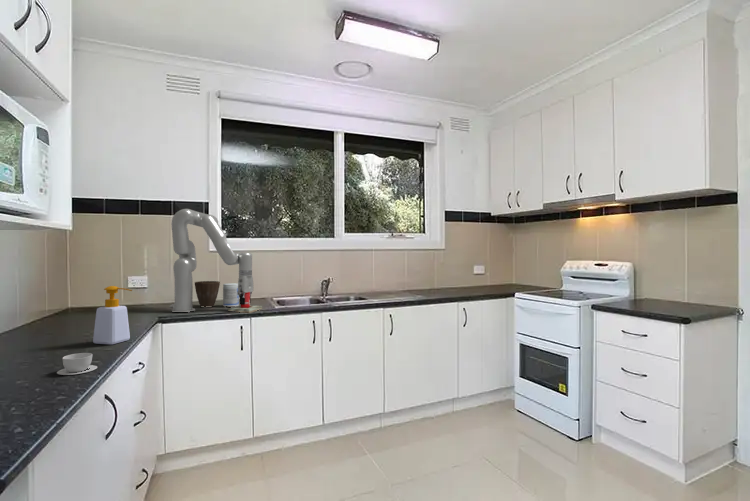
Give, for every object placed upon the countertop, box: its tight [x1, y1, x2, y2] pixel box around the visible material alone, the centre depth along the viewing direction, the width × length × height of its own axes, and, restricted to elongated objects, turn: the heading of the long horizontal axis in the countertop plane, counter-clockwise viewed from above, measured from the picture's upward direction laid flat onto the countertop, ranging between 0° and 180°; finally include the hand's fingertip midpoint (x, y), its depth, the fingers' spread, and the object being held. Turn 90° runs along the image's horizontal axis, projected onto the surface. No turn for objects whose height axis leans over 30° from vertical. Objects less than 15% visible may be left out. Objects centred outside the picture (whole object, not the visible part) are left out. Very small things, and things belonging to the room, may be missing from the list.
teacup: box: [56, 352, 98, 376], centre depth 124 cm, size 10×10×5 cm
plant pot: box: [194, 280, 221, 307], centre depth 259 cm, size 15×15×16 cm
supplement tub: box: [222, 282, 240, 306], centre depth 261 cm, size 10×10×15 cm
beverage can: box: [240, 292, 251, 308], centre depth 245 cm, size 5×5×12 cm
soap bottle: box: [92, 285, 133, 346], centre depth 161 cm, size 10×14×22 cm
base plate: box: [227, 304, 263, 314], centre depth 245 cm, size 14×14×2 cm
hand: (245, 303), depth 245 cm, fingers closed on beverage can, 5 cm apart
